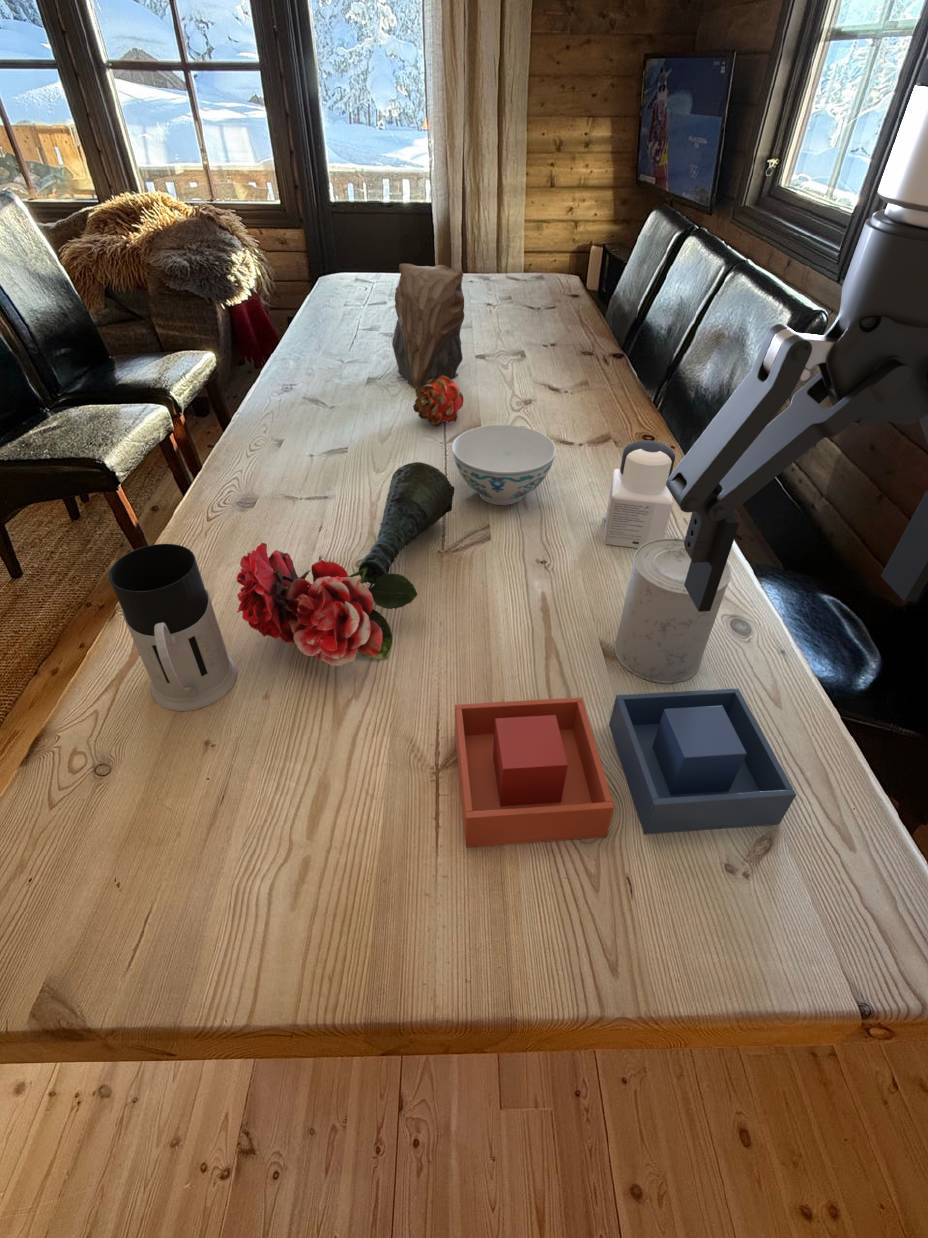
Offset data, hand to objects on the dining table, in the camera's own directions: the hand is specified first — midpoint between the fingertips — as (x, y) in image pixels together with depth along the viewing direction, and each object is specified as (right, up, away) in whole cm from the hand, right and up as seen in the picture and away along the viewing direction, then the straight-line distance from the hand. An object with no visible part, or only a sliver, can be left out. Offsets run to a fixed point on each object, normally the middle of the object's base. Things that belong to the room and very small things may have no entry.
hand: (798, 593), depth 43 cm
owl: (-30, +48, +93) cm, 109 cm away
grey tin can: (0, -6, +31) cm, 32 cm away
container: (+2, +10, +50) cm, 51 cm away
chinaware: (-16, +17, +58) cm, 62 cm away
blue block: (-1, -16, +19) cm, 25 cm away
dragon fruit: (-26, +35, +77) cm, 89 cm away
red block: (-16, -16, +18) cm, 29 cm away
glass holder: (-50, -10, +26) cm, 57 cm away
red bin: (-16, -17, +18) cm, 29 cm away
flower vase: (-34, +2, +40) cm, 52 cm away
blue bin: (-1, -16, +19) cm, 25 cm away
